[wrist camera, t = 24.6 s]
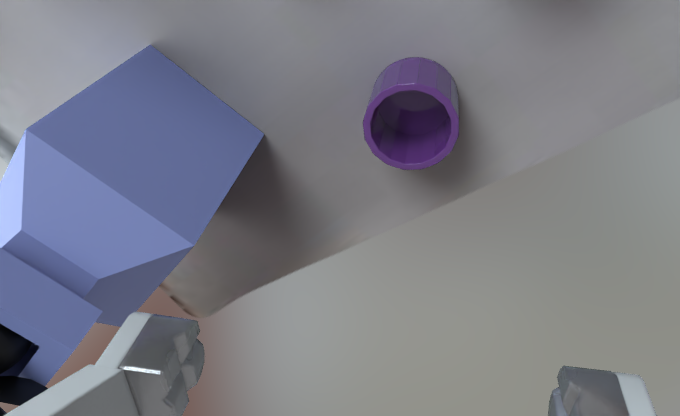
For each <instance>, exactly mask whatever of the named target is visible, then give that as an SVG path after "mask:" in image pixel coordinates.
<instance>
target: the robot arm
mask: <svg viewBox="0 0 680 416" xmlns="http://www.w3.org/2000/svg"><path fill="white" fill-rule="evenodd" d="M199 332H200V329H199V325H198V322H197V321H195V320H190V319H183V318H177V317H171V316H164V315H157V314H149V313H142V312H133V313H132V314H130V315H129V316H128V317H127V319H126V320H125V322H124V323H123V324H122V326H121V327H120V329H119V331H118V332H117V333H116V335H115V336H114V338H113V339H112V341H111V342H110V344H109V345H108V347H107V348H106V350H105V351H104V352H103V354H102V355H101V357H100V358H99V360H98V361H97V363H96V364H95V365H87V366H86V367H84V368H82V369H81V370H79V371H77V372H76V373H74V374H72V375H71V376H69V377H67V378H66V379H64V380H62V381H61V382H59V383H57V384H56V385H54V386H52V387H51V388H49V389H47V390H46V391H44V392H42V393H40V394H39V395H37V396H35V397H34V398H32V399H30V400H29V401H27V402H25V403H24V404H22V405H20V406H19V407H17V408H15V409H14V410H12V411H10V412H9V413H7V414H5V415H4V416H182V414H183V412H184V410H185V408H186V406H187V404H188V402H189V398H188V394H187V391H188V390H189V389H191V388H192V387H194V386H195V385H196V384H197V382H198V380H199V378H200V375H201V373H202V369H203V364H204V347H203V344H202V343H201V342H200V341H199V340H198V339H197V336H198V334H199ZM557 378H558V384H559V387H558V388H556V389H554V390H553V391H552V394H551V397H550V401H549V411H548V416H657V415H656V412H655V410H654V407H653V404H652V402H651V399H650V396H649V393H648V391H647V388H646V385H645V383H644V380H643V379H642V378H641V376H640V375H635V374H626V373H618V372H611V371H604V370H596V369H587V368H578V367H569V366H563V367H562V368H561V369H560V371H559V374H558V377H557Z"/></svg>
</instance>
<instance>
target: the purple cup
mask: <svg viewBox="0 0 680 416" xmlns="http://www.w3.org/2000/svg"><path fill="white" fill-rule="evenodd" d="M363 129H364V137H365V140H366V142H367V144H368V145H369V147H370V149H371V151H372V152H373V153H374V155H375V156H377V157H378V158H379V159H381V160H382V161H383V162H384V163H386V164H388V165H390V166H393V167H397V168H400V169H403V170H417V169H424V168H427V167H429V166H432V165H434V164H437V163H439V162H440V161H441V160H442V159H443V158H444V157H446V156H447V155H448V154H449V153H450V152H451V151H452V149H453V147H454V145H455V143H456V140H457V138H458V136H459V110H458V91H457V87H456V84H455V82H454V80H453V78H452V76H451V75H450V73H449V72H448V71H447V70H446V69H445V68H444V67H442V66H441V65H440V64H438V63H436V62H434V61H432V60H429V59H425V58H419V57H411V58H405V59H402V60H399V61H396V62H394V63H393V64H391V65H389V66H388V67H387V68H386V69H385V70H384V71H383V72H382V73H381V74H380V75H379V77H378V78H377V80H376V82H375V84H374V88H373V91H372V94H371V97H370V100H369V103H368V107H367V110H366V113H365V116H364V120H363Z"/></svg>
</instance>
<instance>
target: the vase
mask: <svg viewBox="0 0 680 416" xmlns="http://www.w3.org/2000/svg"><path fill="white" fill-rule="evenodd" d="M263 136H264V133H262V132H261V131H260V130H258V129H257V128H256V127H255V126H253V125H252V124H251V123H249V122H248V121H247V120H246V119H244V118H243V117H242V116H241V115H239V114H238V113H237V112H235V111H234V110H233V109H232V108H230V107H229V106H228V105H227V104H225V103H224V102H223V101H221V100H220V99H219V98H218V97H216V96H215V95H214V94H213V93H211V92H210V91H209V90H207V89H206V88H205V87H204V86H202V85H201V84H200V83H198V82H197V81H196V80H195V79H193V78H192V77H191V76H190V75H188V74H187V73H186V72H184V71H183V70H182V69H181V68H179V67H178V66H177V65H176V64H174V63H173V62H172V61H170V60H169V59H168V58H167V57H165V56H164V55H163V54H162V53H160V52H159V51H158V50H156V49H155V48H154V47H153V46H151V45H149V46H148V47H146V48H145V49H143V50H142V51H140V52H139V53H137V54H136V55H134V56H133V57H131V58H130V59H128V60H127V61H125V62H124V63H123V64H121V65H120V66H118V67H117V68H115V69H114V70H112V71H111V72H109V73H108V74H106V75H105V76H103V77H102V78H100V79H99V80H98V81H96V82H95V83H93V84H92V85H90V86H89V87H87V88H86V89H84V90H83V91H81V92H80V93H78V94H77V95H75V96H74V97H72V98H71V99H70V100H68V101H67V102H65V103H64V104H62V105H61V106H59V107H58V108H56V109H55V110H53V111H52V112H50V113H49V114H47V115H46V116H45V117H43V118H42V119H40V120H39V121H37V122H36V123H34V124H33V125H31V126H30V127H28V128H27V129H26V130H25V132H24V134H23V136H22V138H21V140H20V143H19V145H18V147H17V149H16V151H15V153H14V155H13V157H12V159H11V161H10V163H9V166H8V168H7V170H6V172H5V174H4V176H3V178H2V181H1V183H0V402H3V403H8V404H14V405H19V406H20V405H22V404H24V403H25V402H27V401H29V400H30V399H32V398H34V397H35V396H37V395H39V394H40V393H42V392H44V391H46V390H47V389H48V388H47V387H45V385H46V384H47V383H48V382H49V381H50V379H51V378H52V377H53V376H54V374H55V373H56V372H57V371H58V369H59V368H60V367H61V366H62V365H63V363H64V362H65V361H66V360H67V359H68V357H69V356H70V355H71V354H72V352H73V351H74V350H75V349H76V347H77V346H78V345H79V343H80V342H81V340H82V339H83V338H84V336H85V335H86V334H87V332H88V331H89V330H90V328H91V327H92V325H93V324H94V323H95V322H97V323H103V324H109V325H114V326H120V327H121V326H122V324H123V323H124V322H125V320H126V319H127V317H128V316H129V315H130V314H132V313H133V312H136V311H137V310H138V309H139V308H140V307H141V305H142V304H143V303H144V302H145V301H146V300H147V298H148V297H149V296H150V295H151V294H152V293H153V291H155V290H156V288H157V287H158V286H159V285H160V284H161V283H162V282H163V280H164V279H165V278H166V277H167V276H168V275H169V274H170V273H171V271H172V270H173V269H174V268H175V267H176V266H177V265H178V263H179V262H180V261H181V260H182V259H183V258H184V257H185V255H186V254H187V253H188V252H189V251H190V250H191V249H192V248H193V246H194V245H195V244H196V242H197V240H198V239H199V237H200V236H201V234H202V232H203V231H204V229H205V228H206V226H207V225H208V223H209V221H210V220H211V218H212V217H213V215H214V213H215V212H216V210H217V209H218V207H219V206H220V204H221V202H222V201H223V199H224V198H225V196H226V194H227V193H228V191H229V190H230V188H231V186H232V185H233V183H234V182H235V180H236V179H237V177H238V175H239V174H240V172H241V171H242V169H243V167H244V166H245V164H246V163H247V161H248V160H249V158H250V156H251V155H252V153H253V152H254V150H255V148H256V147H257V145H258V144H259V142H260V140H261V139H262V137H263ZM5 414H7V413H6V412H5V411H4V410H3V409H2V408H1V407H0V416H4V415H5Z"/></svg>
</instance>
